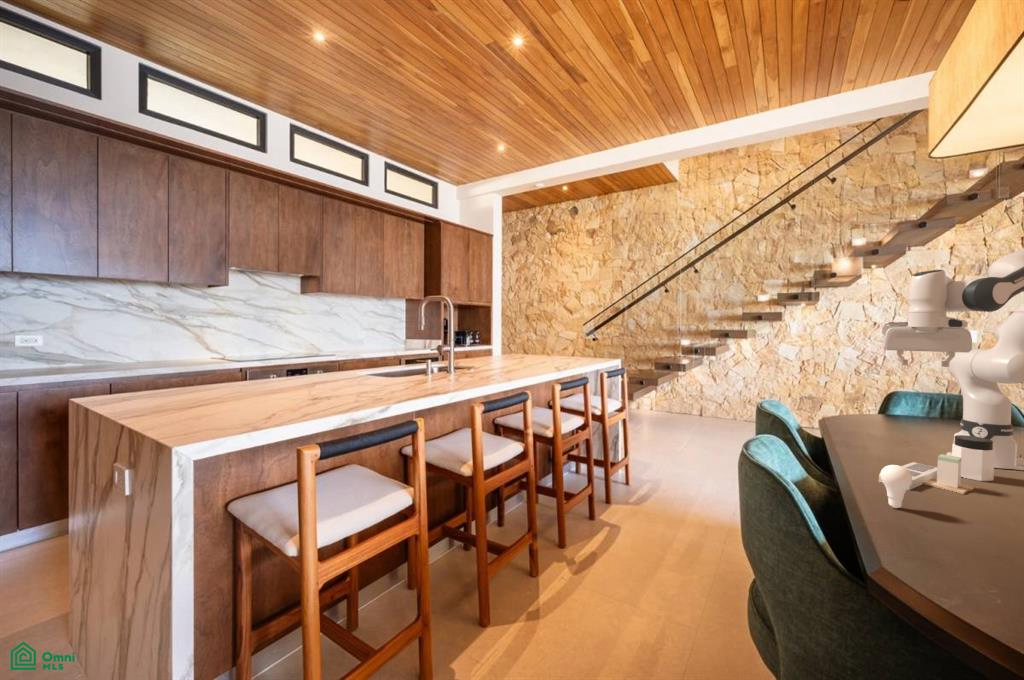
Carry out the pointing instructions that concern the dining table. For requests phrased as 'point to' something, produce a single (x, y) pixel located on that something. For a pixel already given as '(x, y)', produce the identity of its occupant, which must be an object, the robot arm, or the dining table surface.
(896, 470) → the lightbulb
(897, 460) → the dining table surface
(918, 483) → the power strip
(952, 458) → the block
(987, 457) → the jar
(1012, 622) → the dining table surface
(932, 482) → the coaster
